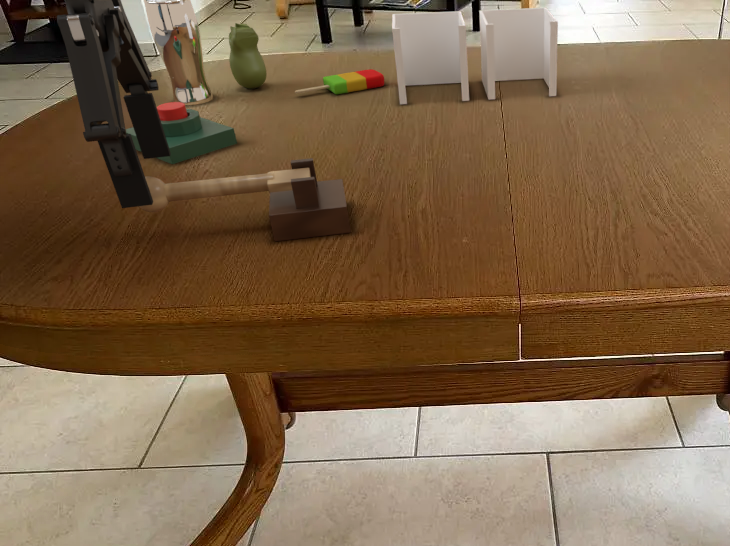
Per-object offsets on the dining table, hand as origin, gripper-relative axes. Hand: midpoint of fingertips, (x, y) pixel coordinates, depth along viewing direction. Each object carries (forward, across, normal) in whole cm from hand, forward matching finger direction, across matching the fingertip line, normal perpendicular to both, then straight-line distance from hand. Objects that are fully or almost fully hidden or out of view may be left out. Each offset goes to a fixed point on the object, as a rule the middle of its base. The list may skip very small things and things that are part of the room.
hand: (148, 179), depth 76 cm
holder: (+7, 0, -15) cm, 17 cm away
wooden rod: (+4, 0, -7) cm, 8 cm away
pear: (+7, +58, -7) cm, 58 cm away
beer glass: (+7, +53, +2) cm, 54 cm away
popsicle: (+7, +52, -21) cm, 57 cm away
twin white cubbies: (+7, +45, -43) cm, 62 cm away
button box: (+7, +31, +2) cm, 32 cm away
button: (+3, +31, +2) cm, 31 cm away
